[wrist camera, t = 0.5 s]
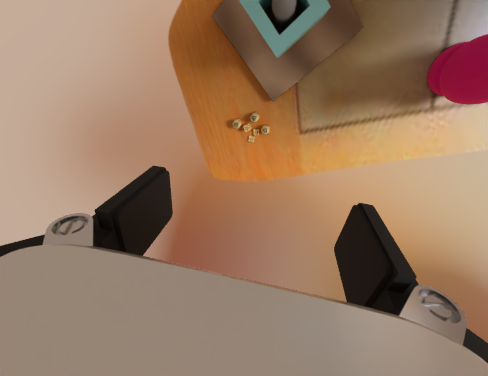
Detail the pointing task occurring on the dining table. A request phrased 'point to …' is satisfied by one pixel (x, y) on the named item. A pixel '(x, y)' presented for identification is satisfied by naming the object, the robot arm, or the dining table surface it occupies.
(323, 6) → the collar
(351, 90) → the dining table surface
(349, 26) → the stand
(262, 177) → the dining table surface
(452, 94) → the pepper mill
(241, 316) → the robot arm
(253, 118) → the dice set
